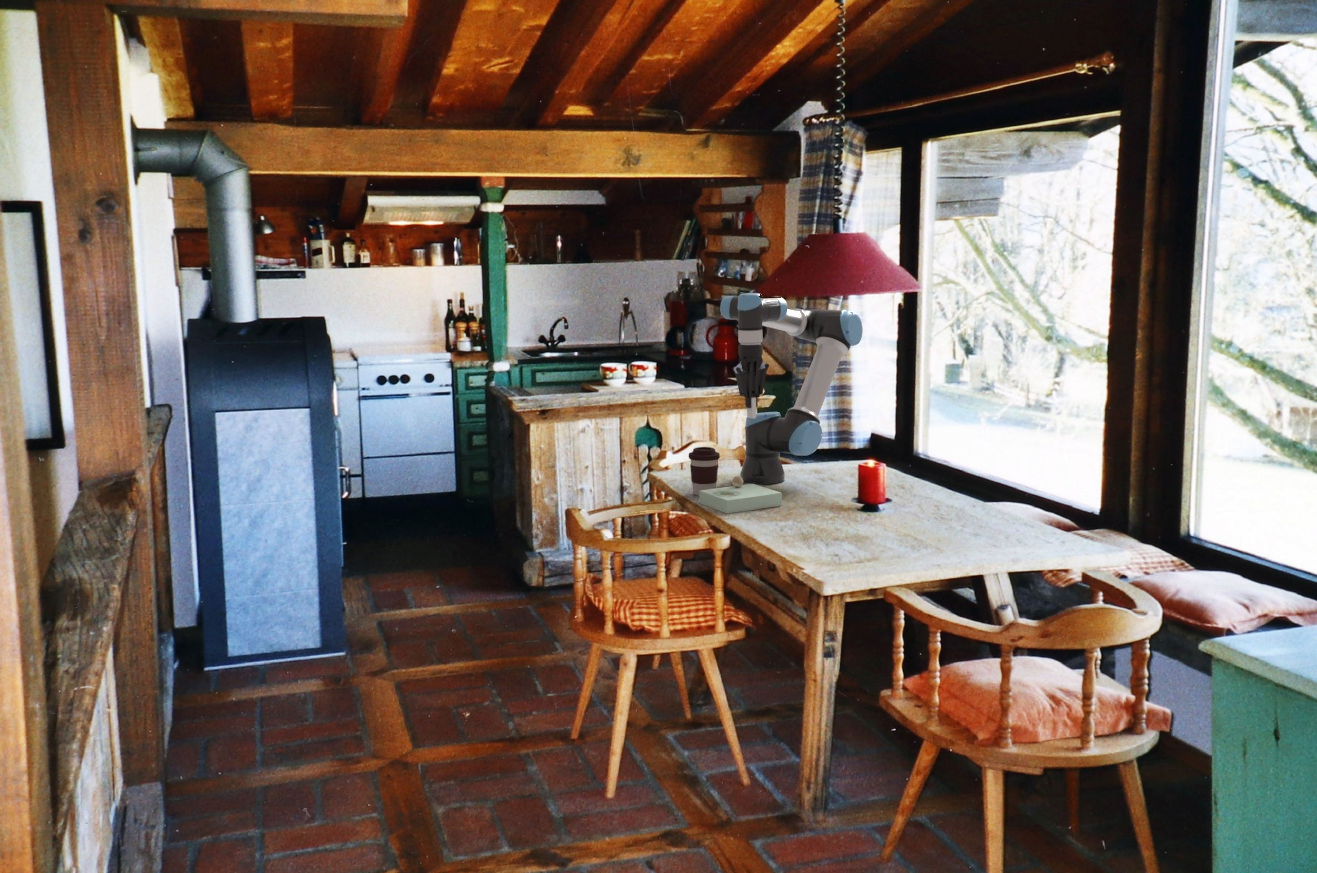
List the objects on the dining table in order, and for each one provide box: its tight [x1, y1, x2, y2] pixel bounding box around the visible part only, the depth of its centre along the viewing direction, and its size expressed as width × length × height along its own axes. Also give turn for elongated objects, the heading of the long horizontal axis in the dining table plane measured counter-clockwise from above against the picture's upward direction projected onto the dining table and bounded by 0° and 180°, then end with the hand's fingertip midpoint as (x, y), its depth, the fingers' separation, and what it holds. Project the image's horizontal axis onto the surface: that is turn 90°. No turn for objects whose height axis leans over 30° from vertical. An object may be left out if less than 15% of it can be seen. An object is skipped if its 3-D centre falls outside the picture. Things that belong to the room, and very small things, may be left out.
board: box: [698, 483, 783, 514], centre depth 354 cm, size 20×16×4 cm
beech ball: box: [731, 475, 744, 487], centre depth 360 cm, size 4×4×4 cm
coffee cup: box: [688, 446, 720, 497], centre depth 368 cm, size 10×10×15 cm
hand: (751, 417), depth 361 cm, fingers closed
